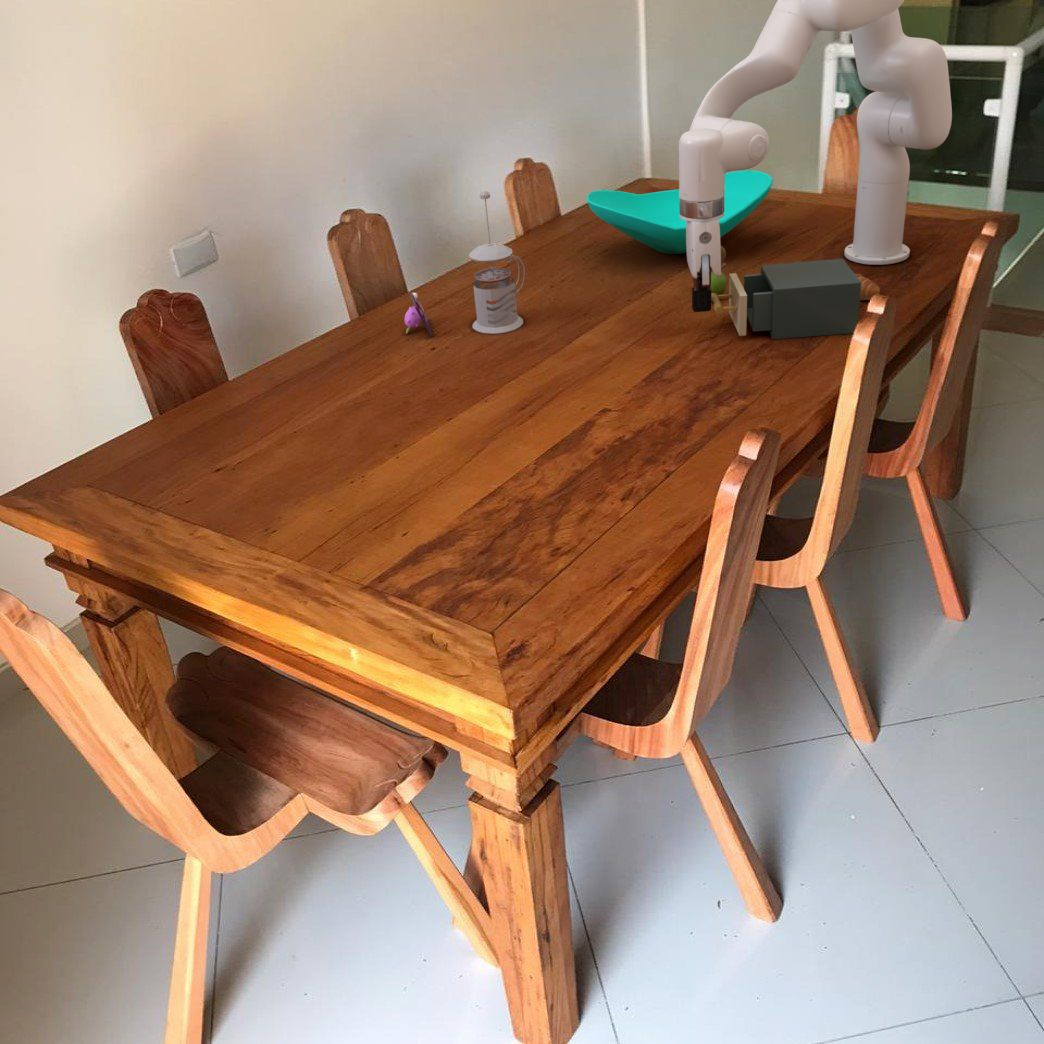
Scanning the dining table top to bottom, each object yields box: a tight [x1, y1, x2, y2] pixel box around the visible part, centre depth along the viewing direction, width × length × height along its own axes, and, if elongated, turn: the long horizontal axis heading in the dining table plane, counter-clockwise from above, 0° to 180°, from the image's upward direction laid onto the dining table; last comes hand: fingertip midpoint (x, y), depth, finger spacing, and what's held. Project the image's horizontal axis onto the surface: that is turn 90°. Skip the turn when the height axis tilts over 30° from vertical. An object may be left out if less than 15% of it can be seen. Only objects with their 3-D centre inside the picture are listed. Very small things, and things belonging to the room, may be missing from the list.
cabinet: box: [760, 258, 861, 340], centre depth 194 cm, size 15×13×9 cm
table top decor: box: [586, 169, 774, 255], centre depth 233 cm, size 40×28×13 cm
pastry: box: [853, 272, 881, 302], centre depth 205 cm, size 9×7×4 cm
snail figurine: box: [711, 245, 728, 295], centre depth 208 cm, size 5×6×12 cm
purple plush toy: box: [404, 290, 434, 338], centre depth 208 cm, size 7×5×9 cm
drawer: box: [711, 272, 774, 337], centre depth 194 cm, size 17×11×7 cm, turn 90°
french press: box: [468, 190, 526, 335], centre depth 203 cm, size 10×12×25 cm
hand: (701, 309), depth 195 cm, fingers closed
